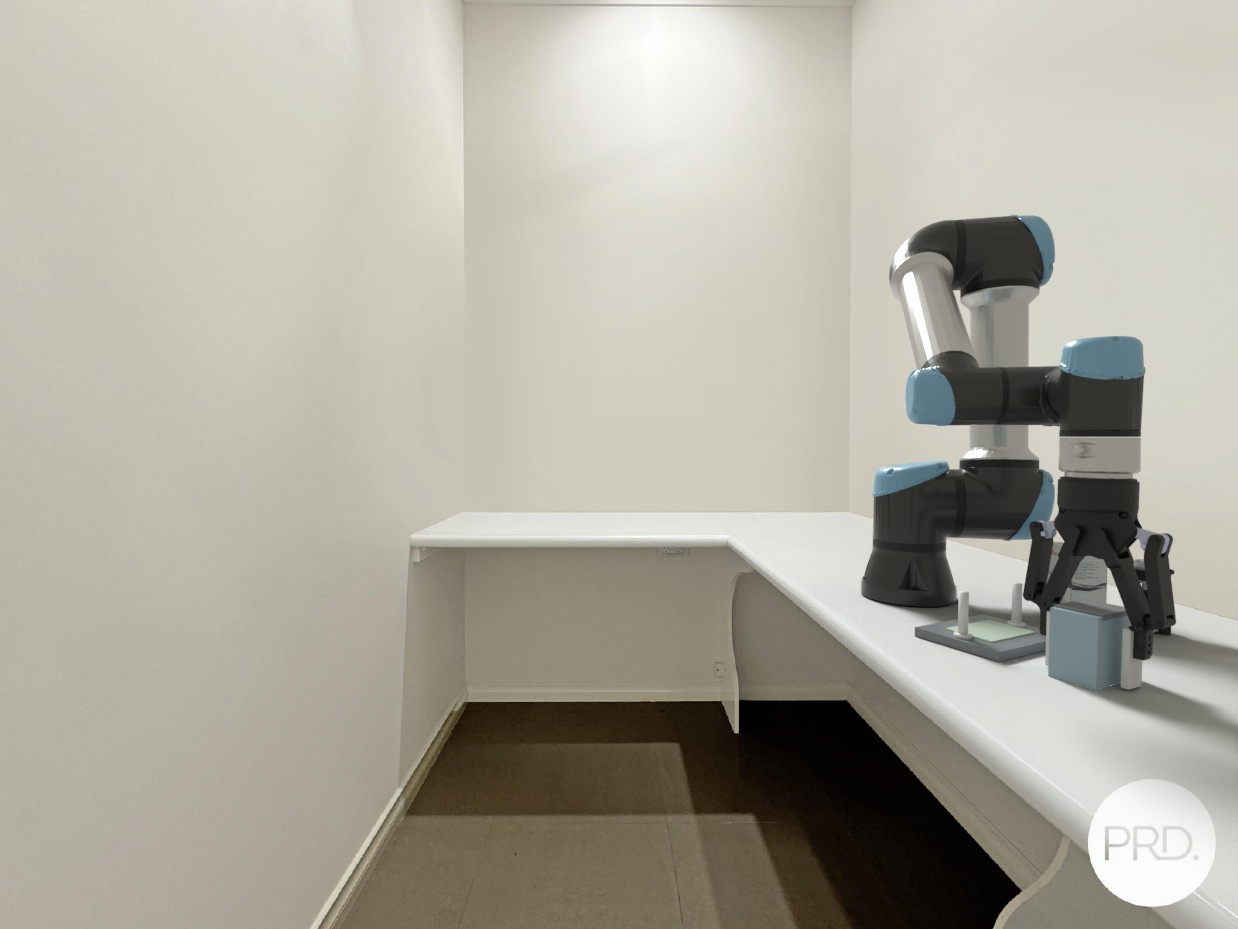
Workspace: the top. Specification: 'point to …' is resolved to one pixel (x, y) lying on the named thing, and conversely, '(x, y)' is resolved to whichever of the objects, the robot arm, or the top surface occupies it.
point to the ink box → (1083, 578)
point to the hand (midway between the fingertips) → (1091, 674)
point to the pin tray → (987, 632)
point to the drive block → (1086, 643)
